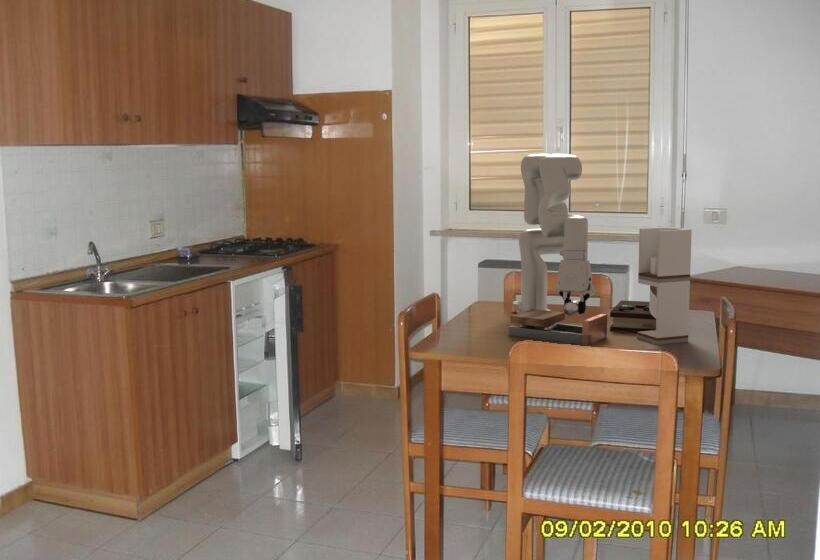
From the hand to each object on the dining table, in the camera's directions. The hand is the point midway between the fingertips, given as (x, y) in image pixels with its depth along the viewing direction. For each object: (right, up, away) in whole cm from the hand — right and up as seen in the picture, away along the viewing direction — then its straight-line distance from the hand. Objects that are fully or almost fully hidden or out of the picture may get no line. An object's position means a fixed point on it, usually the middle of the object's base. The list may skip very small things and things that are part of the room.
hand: (574, 312), depth 271 cm
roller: (0, 0, 0) cm, 0 cm away
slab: (-10, -3, +8) cm, 14 cm away
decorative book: (+27, -6, +22) cm, 35 cm away
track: (-5, -8, +5) cm, 11 cm away
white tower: (+27, -9, -2) cm, 29 cm away
